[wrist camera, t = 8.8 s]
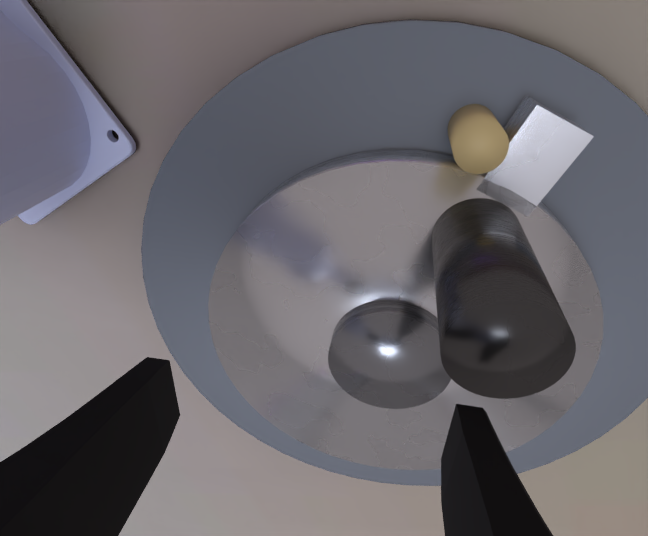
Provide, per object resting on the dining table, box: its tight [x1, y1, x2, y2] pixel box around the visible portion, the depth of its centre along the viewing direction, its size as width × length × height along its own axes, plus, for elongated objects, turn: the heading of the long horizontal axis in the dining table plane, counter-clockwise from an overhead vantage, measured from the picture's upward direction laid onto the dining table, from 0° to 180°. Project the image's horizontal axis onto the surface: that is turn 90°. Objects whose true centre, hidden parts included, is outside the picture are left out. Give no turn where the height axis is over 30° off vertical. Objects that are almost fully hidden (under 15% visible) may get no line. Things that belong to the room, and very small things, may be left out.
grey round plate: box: [141, 19, 648, 486], centre depth 20 cm, size 24×24×4 cm
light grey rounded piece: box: [208, 96, 603, 470], centre depth 16 cm, size 18×16×8 cm
